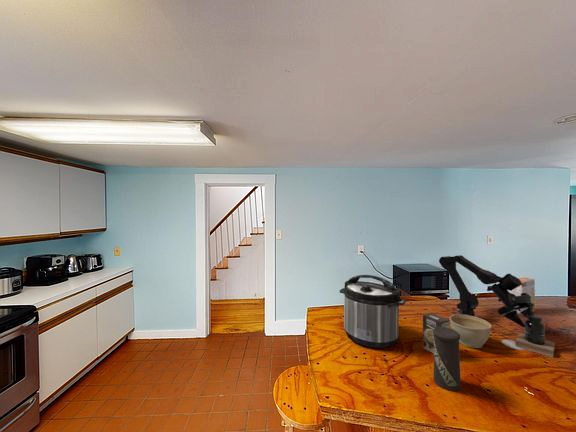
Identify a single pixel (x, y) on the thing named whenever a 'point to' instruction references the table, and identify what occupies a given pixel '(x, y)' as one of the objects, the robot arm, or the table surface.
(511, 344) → the grey coaster
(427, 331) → the coffee box
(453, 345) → the container
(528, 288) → the cracker box
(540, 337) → the supplement bottle
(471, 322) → the planter bowl
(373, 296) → the pressure cooker
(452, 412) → the table surface
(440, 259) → the robot arm
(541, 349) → the light brown block
